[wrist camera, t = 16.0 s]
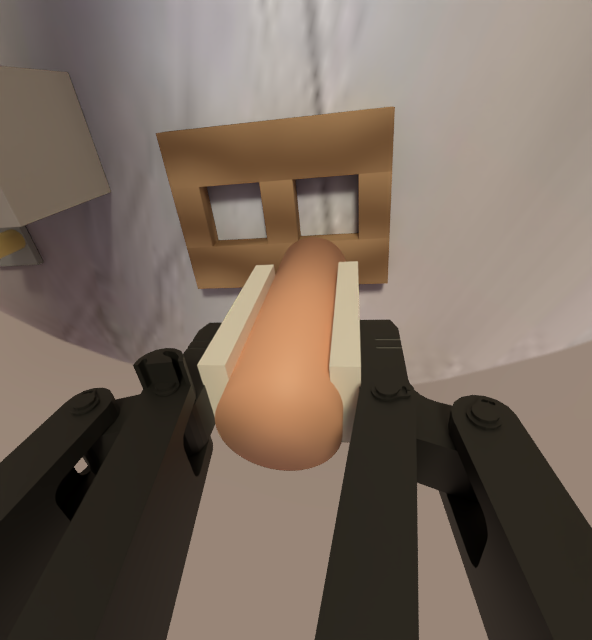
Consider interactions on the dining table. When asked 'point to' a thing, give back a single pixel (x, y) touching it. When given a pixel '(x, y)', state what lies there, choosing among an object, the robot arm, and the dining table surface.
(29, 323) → the dining table surface
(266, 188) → the board
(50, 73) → the block
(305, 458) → the peg
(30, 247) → the pad
